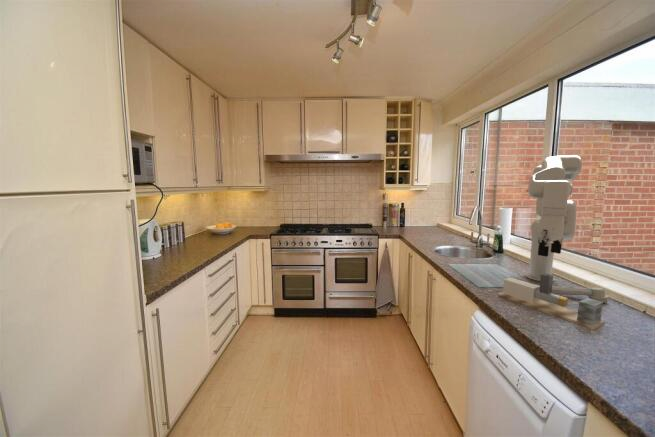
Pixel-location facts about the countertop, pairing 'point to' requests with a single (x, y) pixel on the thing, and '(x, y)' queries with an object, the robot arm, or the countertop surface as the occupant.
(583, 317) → the stand
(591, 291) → the electric toothbrush handle
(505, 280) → the sleeve
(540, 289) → the grey l-shaped piece
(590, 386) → the countertop surface
